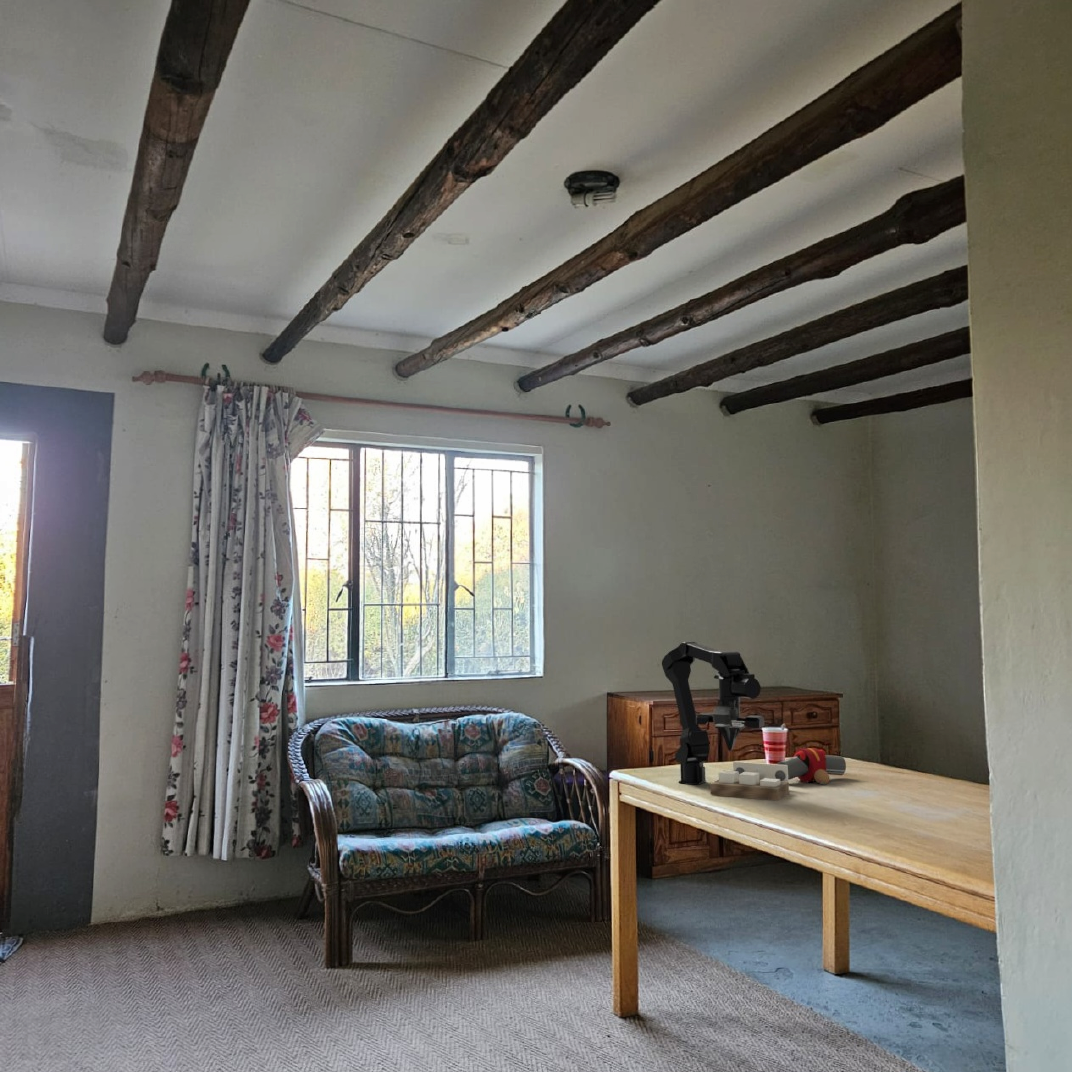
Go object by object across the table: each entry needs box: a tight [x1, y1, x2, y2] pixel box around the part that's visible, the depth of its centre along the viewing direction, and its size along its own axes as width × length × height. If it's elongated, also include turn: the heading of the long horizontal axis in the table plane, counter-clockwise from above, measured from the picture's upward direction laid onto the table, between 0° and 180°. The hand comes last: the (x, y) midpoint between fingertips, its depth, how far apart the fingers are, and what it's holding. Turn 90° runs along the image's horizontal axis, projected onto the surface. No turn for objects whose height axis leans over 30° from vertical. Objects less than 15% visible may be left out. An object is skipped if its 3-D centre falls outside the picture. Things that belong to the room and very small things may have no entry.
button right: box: [760, 778, 781, 787], centre depth 255 cm, size 4×4×4 cm
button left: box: [718, 770, 739, 784], centre depth 262 cm, size 4×4×4 cm
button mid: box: [739, 772, 760, 785], centre depth 258 cm, size 4×4×4 cm
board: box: [709, 779, 790, 801], centre depth 258 cm, size 19×11×3 cm, turn 58°
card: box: [732, 761, 789, 783], centre depth 267 cm, size 16×1×7 cm, turn 59°
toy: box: [776, 747, 847, 785], centre depth 276 cm, size 23×10×15 cm
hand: (730, 750), depth 262 cm, fingers closed
